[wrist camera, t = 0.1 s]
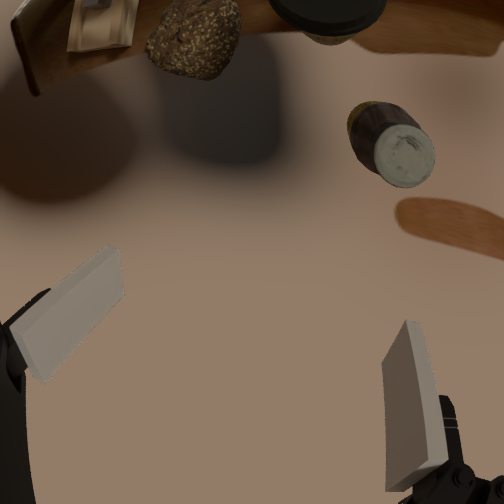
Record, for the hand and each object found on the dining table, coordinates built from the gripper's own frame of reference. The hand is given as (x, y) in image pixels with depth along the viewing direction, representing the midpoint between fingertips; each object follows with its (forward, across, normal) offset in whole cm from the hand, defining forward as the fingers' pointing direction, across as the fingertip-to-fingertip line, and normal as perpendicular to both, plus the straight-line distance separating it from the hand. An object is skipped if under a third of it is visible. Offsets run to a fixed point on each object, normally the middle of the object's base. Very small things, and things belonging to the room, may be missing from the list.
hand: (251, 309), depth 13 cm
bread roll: (+28, -16, +16) cm, 37 cm away
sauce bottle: (+28, +7, +7) cm, 30 cm away
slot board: (+28, -31, +25) cm, 49 cm away
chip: (+24, -31, +23) cm, 46 cm away
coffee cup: (+28, 0, +19) cm, 34 cm away
